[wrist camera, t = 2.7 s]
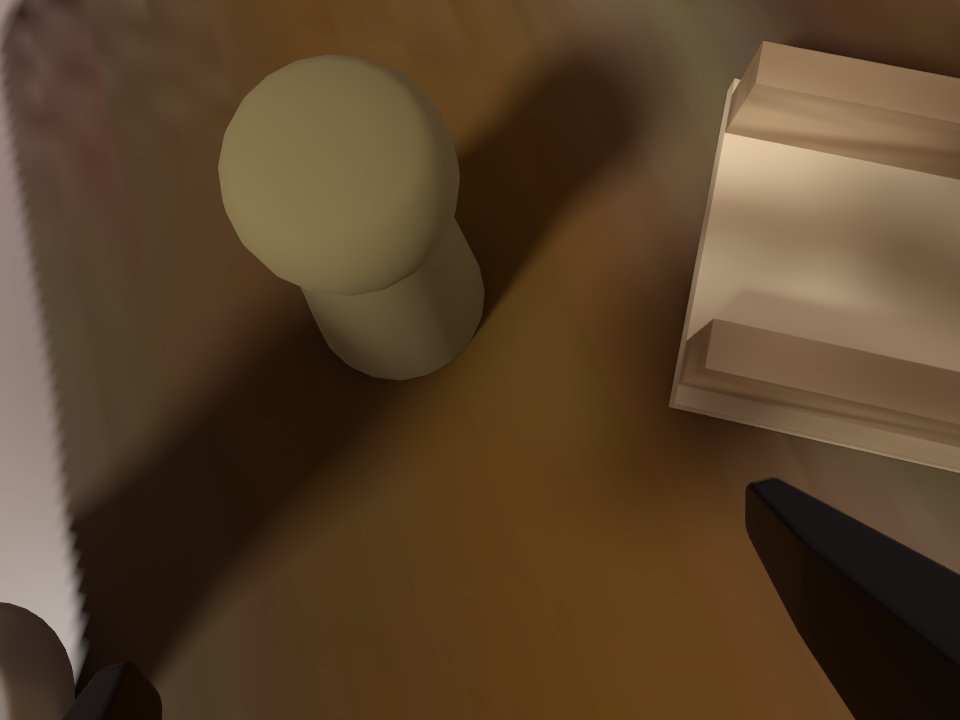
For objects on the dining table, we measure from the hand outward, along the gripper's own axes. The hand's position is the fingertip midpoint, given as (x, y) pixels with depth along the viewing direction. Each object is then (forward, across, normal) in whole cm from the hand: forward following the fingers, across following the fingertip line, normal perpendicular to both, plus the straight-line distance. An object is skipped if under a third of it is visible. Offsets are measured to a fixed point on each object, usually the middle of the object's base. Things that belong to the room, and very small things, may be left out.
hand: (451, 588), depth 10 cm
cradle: (+12, -17, +6) cm, 22 cm away
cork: (+16, 0, +3) cm, 16 cm away
